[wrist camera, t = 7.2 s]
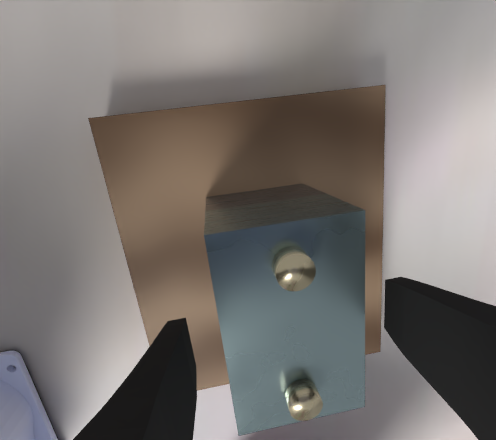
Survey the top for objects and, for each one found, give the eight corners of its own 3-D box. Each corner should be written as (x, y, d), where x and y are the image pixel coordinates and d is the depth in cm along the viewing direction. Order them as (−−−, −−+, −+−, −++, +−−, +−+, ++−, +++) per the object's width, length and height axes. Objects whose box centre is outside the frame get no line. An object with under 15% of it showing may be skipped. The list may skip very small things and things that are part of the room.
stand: (363, 331, 20) (380, 351, 18) (168, 371, 19) (163, 397, 17) (363, 91, 15) (385, 84, 13) (104, 121, 14) (88, 118, 12)
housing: (302, 183, 14) (376, 215, 8) (310, 315, 16) (373, 421, 10) (206, 197, 14) (203, 242, 7) (228, 331, 16) (240, 453, 10)
